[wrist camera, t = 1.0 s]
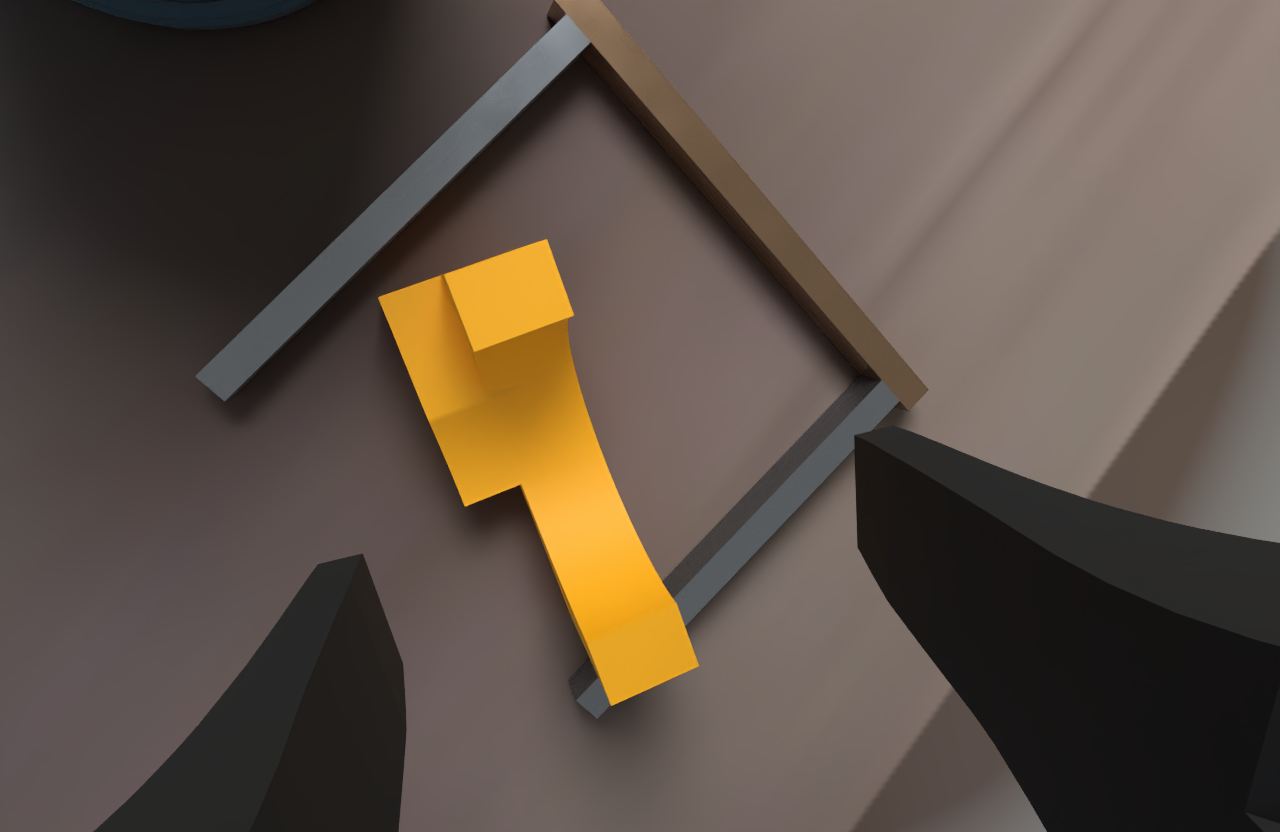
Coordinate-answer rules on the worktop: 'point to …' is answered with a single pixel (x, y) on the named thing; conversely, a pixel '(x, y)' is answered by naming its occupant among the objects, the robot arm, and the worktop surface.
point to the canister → (198, 11)
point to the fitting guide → (731, 194)
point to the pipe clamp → (538, 449)
